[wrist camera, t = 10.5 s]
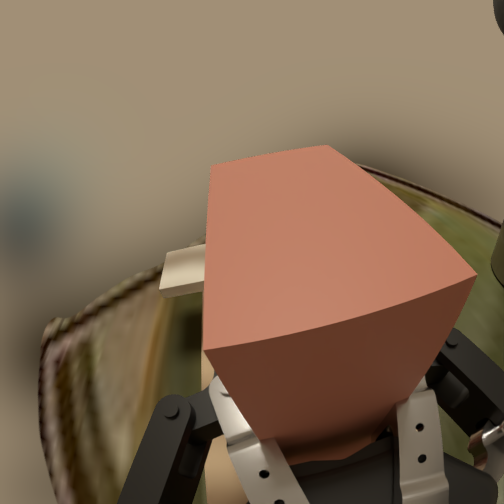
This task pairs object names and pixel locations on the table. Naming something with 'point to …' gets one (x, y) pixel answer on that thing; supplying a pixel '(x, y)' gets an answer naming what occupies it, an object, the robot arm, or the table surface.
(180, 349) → the table surface
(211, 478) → the jig
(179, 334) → the table surface
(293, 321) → the terracotta rectangular block
